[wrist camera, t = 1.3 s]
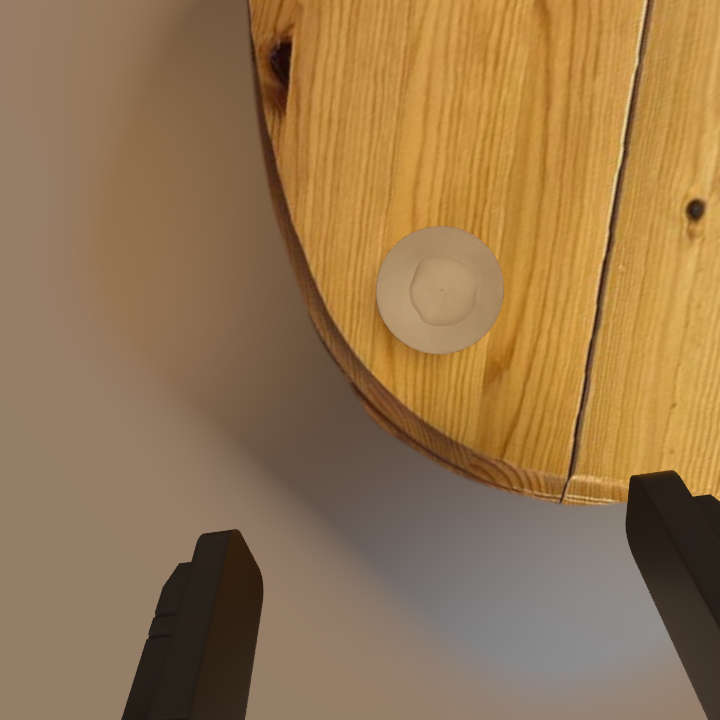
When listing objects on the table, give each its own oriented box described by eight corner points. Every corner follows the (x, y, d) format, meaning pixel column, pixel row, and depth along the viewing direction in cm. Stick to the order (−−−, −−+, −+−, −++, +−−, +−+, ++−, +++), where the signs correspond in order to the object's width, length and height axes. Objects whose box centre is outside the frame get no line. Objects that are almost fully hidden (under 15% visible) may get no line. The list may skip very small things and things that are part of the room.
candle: (360, 273, 33) (353, 256, 23) (446, 232, 32) (477, 196, 23) (400, 358, 33) (410, 379, 23) (486, 318, 33) (534, 321, 23)
